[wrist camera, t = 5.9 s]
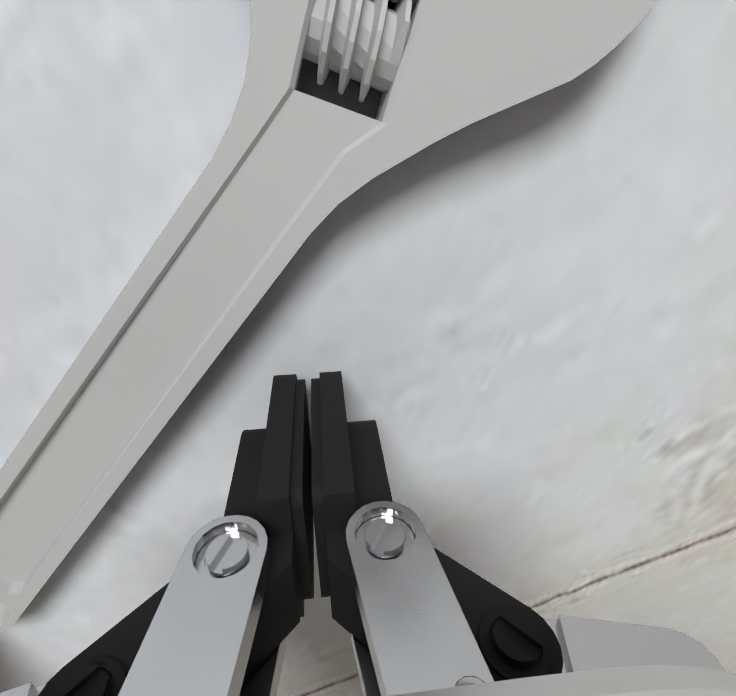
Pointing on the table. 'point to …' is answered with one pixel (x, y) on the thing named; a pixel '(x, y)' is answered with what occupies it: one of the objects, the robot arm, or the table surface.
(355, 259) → the table surface
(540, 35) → the adjustable wrench
